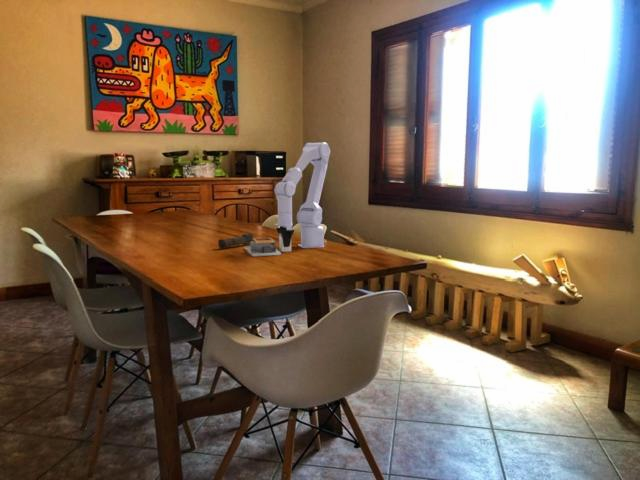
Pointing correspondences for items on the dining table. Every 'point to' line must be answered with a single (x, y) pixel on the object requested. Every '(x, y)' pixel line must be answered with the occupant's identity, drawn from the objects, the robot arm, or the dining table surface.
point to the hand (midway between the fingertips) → (285, 245)
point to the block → (281, 246)
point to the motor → (262, 247)
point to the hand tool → (236, 241)
